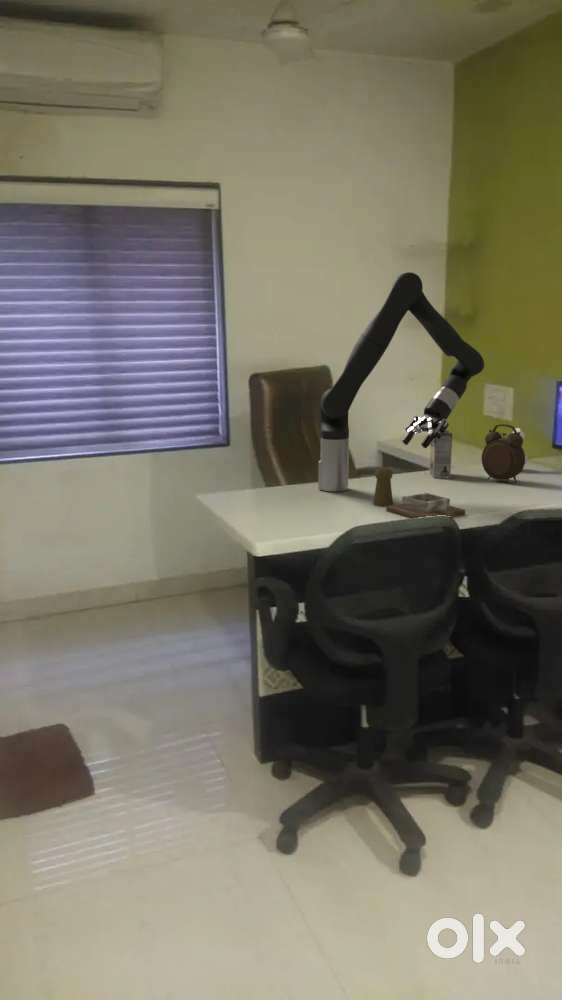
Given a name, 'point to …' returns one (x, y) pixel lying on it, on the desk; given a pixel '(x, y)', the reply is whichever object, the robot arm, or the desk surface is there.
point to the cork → (383, 487)
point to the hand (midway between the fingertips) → (413, 444)
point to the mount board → (425, 506)
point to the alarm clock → (503, 454)
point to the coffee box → (441, 456)
